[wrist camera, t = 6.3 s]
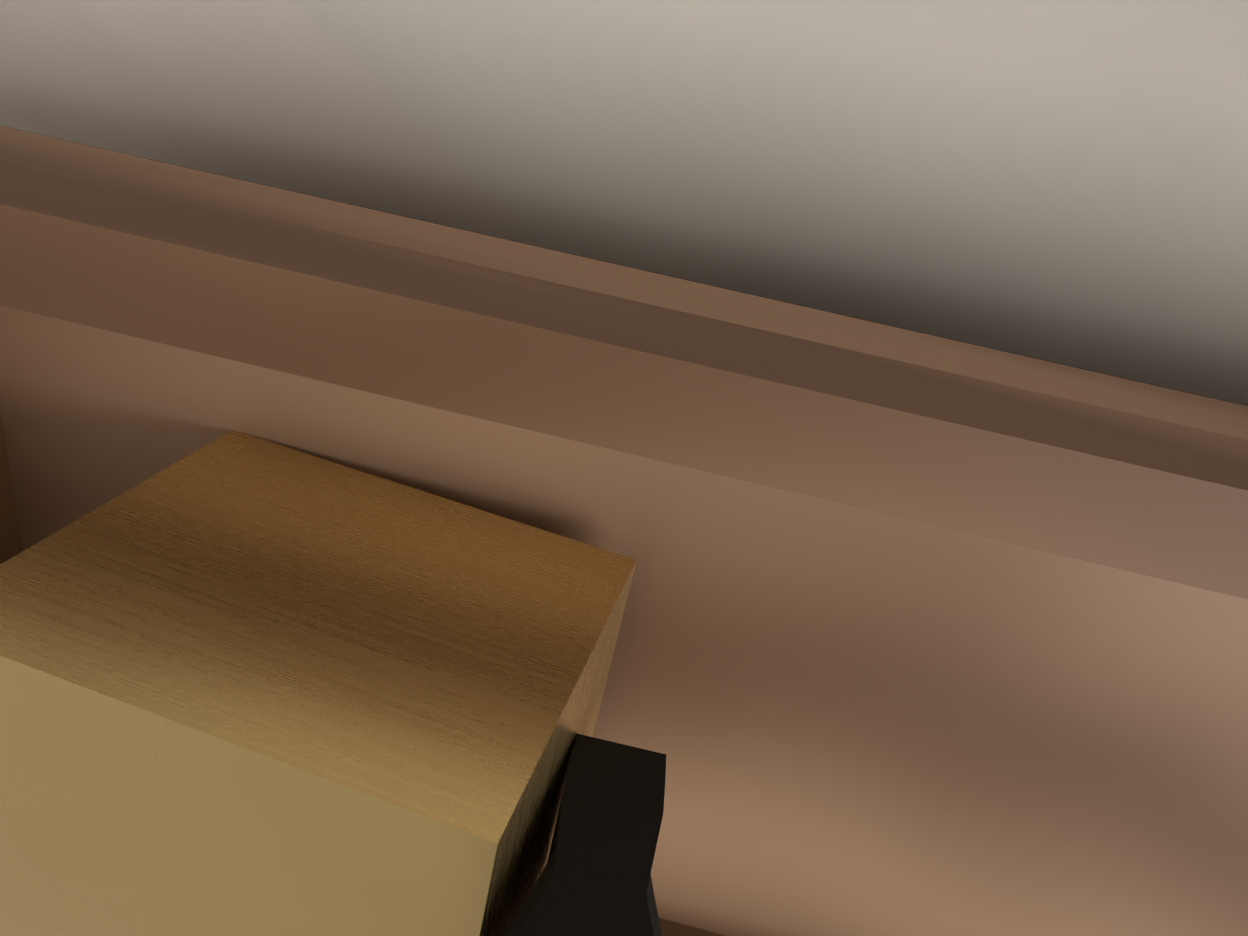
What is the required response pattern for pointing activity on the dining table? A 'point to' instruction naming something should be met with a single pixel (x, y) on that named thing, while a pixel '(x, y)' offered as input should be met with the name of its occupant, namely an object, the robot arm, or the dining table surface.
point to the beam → (714, 535)
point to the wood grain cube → (291, 705)
